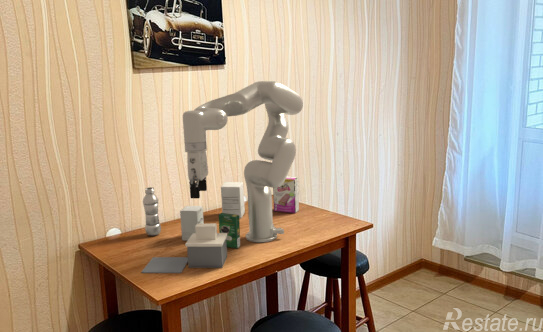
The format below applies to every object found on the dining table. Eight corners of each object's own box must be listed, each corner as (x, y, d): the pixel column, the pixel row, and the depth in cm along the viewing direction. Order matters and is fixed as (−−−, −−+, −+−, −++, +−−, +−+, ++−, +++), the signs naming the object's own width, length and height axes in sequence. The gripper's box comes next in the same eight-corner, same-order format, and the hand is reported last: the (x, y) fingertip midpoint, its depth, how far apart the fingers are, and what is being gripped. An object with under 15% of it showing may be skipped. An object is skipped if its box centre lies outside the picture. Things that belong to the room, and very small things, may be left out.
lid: (227, 235, 187) (226, 219, 186) (221, 246, 177) (220, 230, 175) (192, 235, 188) (191, 220, 187) (185, 246, 178) (184, 230, 177)
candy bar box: (273, 211, 240) (272, 177, 237) (277, 208, 245) (276, 175, 241) (295, 213, 236) (294, 179, 232) (299, 210, 240) (298, 176, 237)
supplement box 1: (199, 241, 205) (196, 211, 203) (181, 240, 207) (179, 210, 204) (205, 234, 212) (203, 205, 210) (188, 234, 214) (185, 205, 211)
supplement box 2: (226, 212, 242) (224, 181, 239) (245, 212, 241) (243, 181, 237) (222, 218, 233) (220, 186, 230) (241, 218, 232) (239, 186, 229)
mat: (190, 258, 188) (190, 257, 188) (181, 273, 176) (181, 271, 176) (153, 258, 190) (153, 257, 190) (141, 272, 177) (141, 271, 177)
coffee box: (241, 246, 198) (239, 214, 195) (238, 249, 195) (236, 216, 193) (223, 244, 201) (221, 212, 199) (219, 246, 199) (217, 214, 196)
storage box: (227, 256, 189) (226, 236, 187) (222, 267, 179) (221, 246, 177) (195, 256, 190) (193, 236, 188) (188, 267, 180) (186, 246, 178)
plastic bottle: (147, 238, 211) (142, 191, 207) (144, 233, 217) (140, 187, 213) (163, 235, 213) (159, 189, 209) (159, 230, 220) (155, 185, 215)
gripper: (199, 151, 168) (203, 201, 172) (212, 142, 185) (214, 188, 189) (177, 151, 169) (181, 201, 173) (191, 142, 186) (195, 188, 190)
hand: (198, 194), depth 181 cm, fingers open, 9 cm apart
